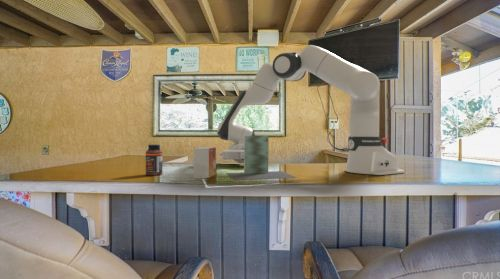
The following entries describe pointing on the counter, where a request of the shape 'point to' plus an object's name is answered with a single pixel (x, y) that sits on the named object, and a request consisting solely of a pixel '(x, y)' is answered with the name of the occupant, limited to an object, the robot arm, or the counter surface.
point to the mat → (260, 175)
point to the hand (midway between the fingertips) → (248, 155)
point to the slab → (255, 154)
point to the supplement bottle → (153, 160)
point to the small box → (204, 162)
